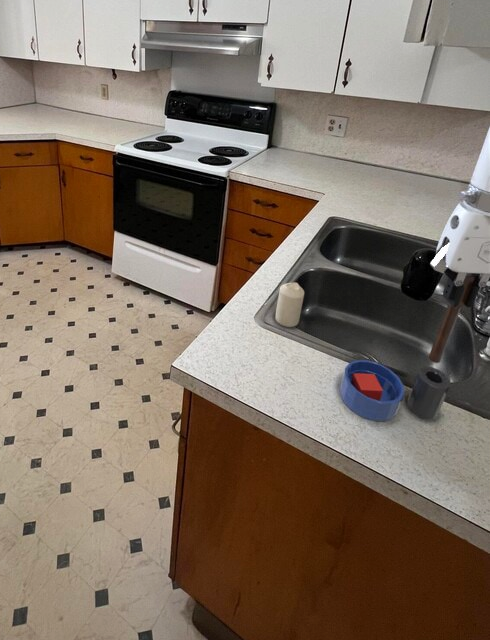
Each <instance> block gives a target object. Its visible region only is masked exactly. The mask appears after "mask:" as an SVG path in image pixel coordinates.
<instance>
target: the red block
mask: <svg viewBox="0 0 490 640" xmlns="http://www.w3.org/2000/svg"><path fill="white" fill-rule="evenodd" d="M351 384H352V385H353V386H354V387H355V388H356V389H357V390H358V391H359V392H360V393H362V394H364V395H365V396H367V397H369V398H372V399H375V400H378V401H380V399H381V396H382V393H383V390H382V388H381V386H380V384H379V382H378V380H377V378H376V376H375V374H361V373H353V377H352V380H351Z"/></svg>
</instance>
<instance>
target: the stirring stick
mask: <svg viewBox="0 0 490 640" xmlns="http://www.w3.org/2000/svg"><path fill="white" fill-rule="evenodd" d="M474 278H475V276H474V275H473V274H471V273H466V276H465V279H464V282H463V284H462V285H463V286H464V287H465V289H464V292H463V294H462V297H461V299H460V302H459V304H458V306H457V307H452V306H451V305H450V304H449V303H448V304H447V307H446V309H445V312H444V314H443V316H442V317H443V318H442V319H441V322H440V325H439V328H438V331H437V333H436V336H435V338H434V341H433V344H432V346H431V349H430V352H429V354H428V359H429V360H430V362H433V363H435V364H437V363H439V364H440V363H441V360H442V358H443V356H444V353H445V350H446V348H447V345H448V343H449V340H450V338H451V336H452V333H453V330H454V327H455V324H456V322H457V320H458V318H459V315H460V312H461V309H462V308H464V307H465V305H464V303H465V301H466V298H467V296H468V293H469V290H470V288H471V285H472V283H473V281H474Z"/></svg>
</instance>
